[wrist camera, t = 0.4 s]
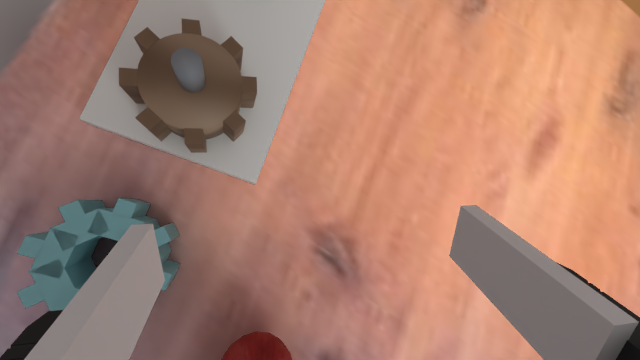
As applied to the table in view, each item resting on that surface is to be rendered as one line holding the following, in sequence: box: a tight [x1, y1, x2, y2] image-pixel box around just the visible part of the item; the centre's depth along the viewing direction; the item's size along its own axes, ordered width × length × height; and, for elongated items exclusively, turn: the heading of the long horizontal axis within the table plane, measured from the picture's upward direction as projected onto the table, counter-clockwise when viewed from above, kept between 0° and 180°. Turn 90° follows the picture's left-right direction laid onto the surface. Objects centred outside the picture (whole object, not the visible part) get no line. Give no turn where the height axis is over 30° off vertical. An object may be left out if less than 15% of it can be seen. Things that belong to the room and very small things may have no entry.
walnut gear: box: [119, 19, 257, 153], centre depth 23 cm, size 9×9×4 cm
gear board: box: [79, 0, 325, 185], centre depth 24 cm, size 22×14×8 cm, turn 161°
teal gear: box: [17, 198, 180, 311], centre depth 22 cm, size 9×9×4 cm
